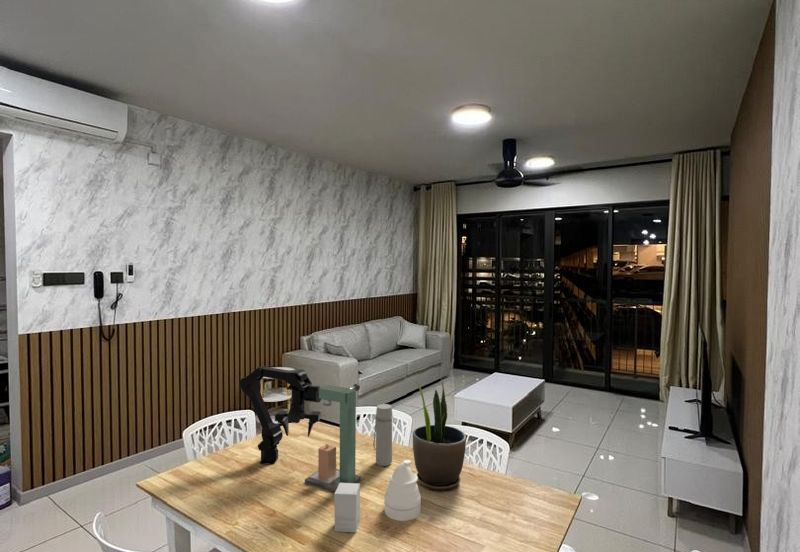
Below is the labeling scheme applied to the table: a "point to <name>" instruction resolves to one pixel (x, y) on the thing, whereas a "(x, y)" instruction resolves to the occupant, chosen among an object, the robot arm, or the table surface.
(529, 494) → the table surface
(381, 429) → the water bottle
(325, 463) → the block
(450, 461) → the potted plant
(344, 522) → the supplement box
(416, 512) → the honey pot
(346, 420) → the arbor press
